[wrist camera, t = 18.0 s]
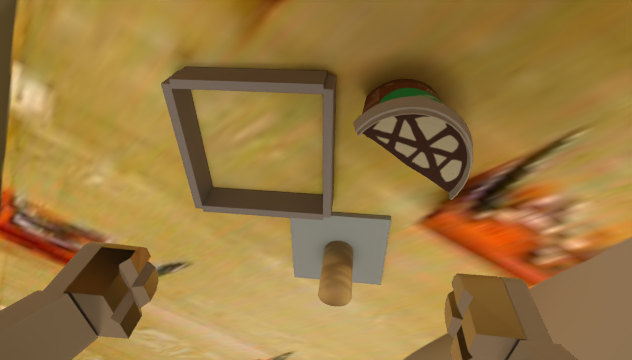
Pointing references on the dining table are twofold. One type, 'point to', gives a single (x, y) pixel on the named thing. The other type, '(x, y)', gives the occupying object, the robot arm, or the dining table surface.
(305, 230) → the mat
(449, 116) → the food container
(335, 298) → the peg
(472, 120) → the dining table surface
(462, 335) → the robot arm
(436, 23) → the dining table surface
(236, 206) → the frame
